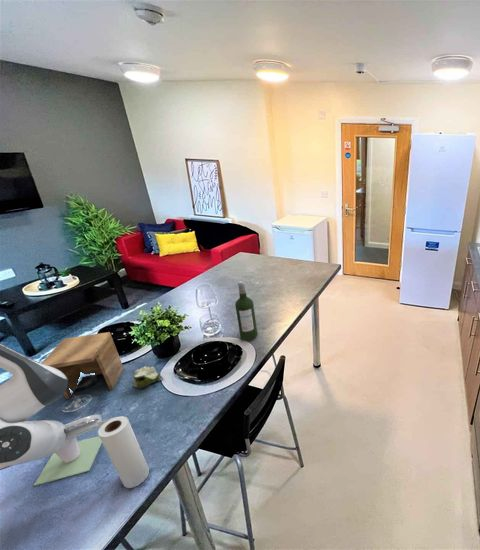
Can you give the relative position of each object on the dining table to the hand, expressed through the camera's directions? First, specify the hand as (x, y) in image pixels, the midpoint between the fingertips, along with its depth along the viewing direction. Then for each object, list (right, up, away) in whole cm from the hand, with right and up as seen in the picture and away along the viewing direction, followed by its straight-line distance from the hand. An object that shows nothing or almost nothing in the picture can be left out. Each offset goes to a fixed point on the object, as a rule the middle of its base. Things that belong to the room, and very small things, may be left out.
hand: (61, 437), depth 83 cm
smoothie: (0, -7, +3) cm, 8 cm away
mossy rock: (+1, +4, +31) cm, 31 cm away
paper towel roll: (+22, -11, 0) cm, 25 cm away
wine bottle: (+29, +16, +61) cm, 70 cm away
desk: (-17, +4, +28) cm, 33 cm away
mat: (0, -8, +3) cm, 9 cm away
